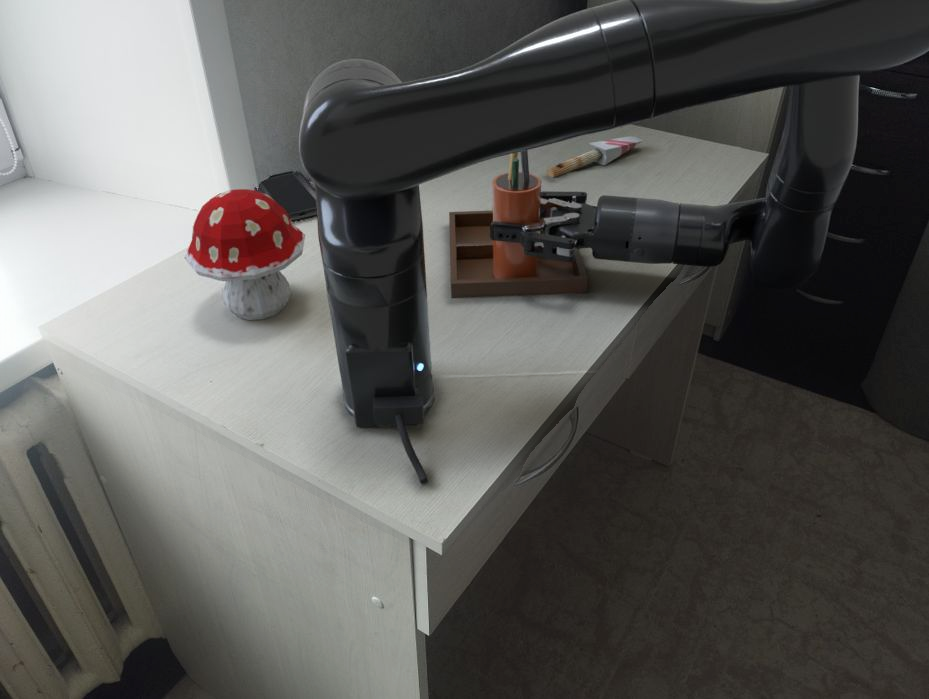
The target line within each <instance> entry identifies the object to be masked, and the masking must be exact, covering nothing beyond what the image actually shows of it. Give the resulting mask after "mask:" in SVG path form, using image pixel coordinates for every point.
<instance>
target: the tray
mask: <svg viewBox="0 0 929 699" xmlns="http://www.w3.org/2000/svg"><path fill="white" fill-rule="evenodd" d="M545 214H546V213H545ZM448 221H449V222H448V224H449V254H450V255H449V261H450V263H449V264H450V267H449V268H450V293H451V296H450V297H451V299H454V298H456V299H457V298H458V299H459V298H481V297H482V298H483V297H484V298H485V297H487V298H489V297H510V296H511V297H512V296H537V295H539V296H541V295H543V296H544V295H568V294H569V295H570V294H571V295H572V294H587V290H588V276H587V272H586V268H585V266H584V261H583V259H582V256H581V252H580V249H576V250H575V254H574V261H572V262H564V261H558V260H552V259H547V258H541V257H539V267H538V276H537V277H529V278H501V279H495V277H494V276H493V258H479V259H457V248H456V244H457V243H482V242H493V240H492V239H491V238H490V225H491V223H492V222H493V221H492V210H469V211H468V210H467V211H464V210H463V211H449V212H448Z"/></svg>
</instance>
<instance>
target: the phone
mask: <svg viewBox="0 0 929 699" xmlns="http://www.w3.org/2000/svg"><path fill="white" fill-rule="evenodd" d="M269 176H270V177H269V178H268V179H266V180H264V181H262V182H261V183H260V184H259V188H258V190H257V188H256V187H255V188H254V187H253V190H254V191H258V192H261V193H264V194H266V195H268V196H269V197H270V198H272V199H273V200H274V201H275V202H277V203H278V204H279V205H280V206H281V207H282V208H284V209H285V211H286V212H287V214H288V216H289V218H290V220H291V222H294V221H298V220H302V219H306V218H310V217H316V216H317V207H316V195H315V187H314V186H313V185H312V183H310V181H309V180H308V179H307V178H306V177H305V176H304V174H303V173H302V171H301V170H289V171H285V172H281V173H280V172H279V173H275V174H272V176H271V175H269Z"/></svg>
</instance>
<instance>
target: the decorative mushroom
mask: <svg viewBox="0 0 929 699" xmlns="http://www.w3.org/2000/svg"><path fill="white" fill-rule="evenodd" d="M191 232H192V234H191V240H190V243H189V245H188V248H187V251H186V252H185V255H184V259H185V261H186V263H187V264H188V265H189V266H190V267H191V268H192V269H193V271H195V273H196V274H197V276H201V277H205V278H209V279H211V280H212V279H213V280H216V281H221V282H225V283H224V286H223V290H222V302H223V304H224V305H225V307H226V308H227V309H228V310H229V311H230V312H231V313H232V314H233V315H234V316H236V317H237V318H241V319H243V320H247V321H256V320H257V321H258V320H265V319H267V318H268V319H269V318H270V317H272V316H275V315H277V314H279V313H280V312H281V311H282V310H283V309H284V308H285V307H286V305H287V304H288V302H289V300H290V296H291V295H290V294H291V285H290V283H289V281H288V279H287V277H286V276H285V275H284V274H283V273H282V272H281V271H282V270H285V269H286V268H287V267H289V266H290V265H291V264H293V263H294V262H295V261H296V260H297V259H299V258H300V257H301V256H302V255H303V251H304V247H305V246H304V245H305V240H306V234H305V233H304V232H303V231H302V230H301V229H300V228H298V227H297V226H296V225H295V224H294V223H293V221H291V220H290V218H289V216H288V214H287V212H286V211H285V209H284V208H282V207H281V206H280V205H279V204H278V203H277V202H275V201H274V200H273V199H272V198H270V197H269V196H268V195H266V194H264V193H261V192H258V191H256V190H255V189H249V188H240V189H239V188H238V189H231V190H230V189H229V190H226V191H223V192H220V193H218V194H216V195H214V196H213V197H211V198H210V199H209V200H208V201H207V202H205V203H204V204H203V205H201V207H200V210H199V212H198V214H197V215H196V218H195V220H194V223H193V225H192V231H191Z"/></svg>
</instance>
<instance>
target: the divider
mask: <svg viewBox="0 0 929 699" xmlns="http://www.w3.org/2000/svg"><path fill="white" fill-rule="evenodd" d="M456 248H457V259H479V258H493V242H482V243H457V244H456ZM539 248H540V249H543V247H542V246H539ZM555 248H556V247H555Z"/></svg>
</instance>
